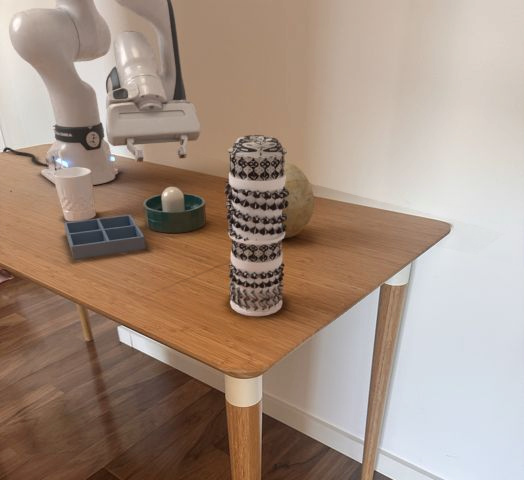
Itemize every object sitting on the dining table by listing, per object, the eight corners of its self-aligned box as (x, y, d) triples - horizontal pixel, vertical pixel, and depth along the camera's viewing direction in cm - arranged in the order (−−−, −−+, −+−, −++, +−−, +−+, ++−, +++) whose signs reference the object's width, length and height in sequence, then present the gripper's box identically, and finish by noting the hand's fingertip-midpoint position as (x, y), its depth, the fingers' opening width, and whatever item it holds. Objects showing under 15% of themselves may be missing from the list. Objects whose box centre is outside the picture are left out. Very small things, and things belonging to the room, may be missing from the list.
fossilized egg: (242, 229, 108) (242, 157, 100) (296, 222, 112) (300, 152, 103) (264, 251, 98) (265, 173, 90) (322, 243, 102) (328, 167, 94)
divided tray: (66, 236, 103) (63, 222, 102) (132, 228, 108) (130, 214, 106) (74, 261, 93) (71, 246, 91) (146, 251, 98) (144, 236, 96)
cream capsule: (159, 222, 109) (155, 187, 105) (176, 216, 112) (173, 182, 108) (173, 227, 107) (170, 192, 102) (190, 222, 110) (187, 187, 105)
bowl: (134, 225, 109) (130, 202, 107) (180, 210, 117) (178, 189, 115) (171, 240, 102) (169, 216, 99) (218, 224, 110) (217, 202, 108)
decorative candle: (218, 311, 79) (211, 142, 65) (241, 286, 86) (239, 129, 72) (272, 322, 76) (278, 149, 62) (291, 295, 83) (300, 135, 69)
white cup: (54, 220, 111) (44, 174, 105) (77, 209, 117) (68, 165, 112) (84, 225, 109) (75, 178, 103) (105, 214, 115) (98, 169, 109)
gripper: (190, 108, 116) (205, 162, 114) (99, 113, 109) (114, 170, 107) (194, 89, 110) (210, 146, 108) (99, 93, 103) (114, 153, 101)
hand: (161, 158), depth 108 cm, fingers open, 8 cm apart
